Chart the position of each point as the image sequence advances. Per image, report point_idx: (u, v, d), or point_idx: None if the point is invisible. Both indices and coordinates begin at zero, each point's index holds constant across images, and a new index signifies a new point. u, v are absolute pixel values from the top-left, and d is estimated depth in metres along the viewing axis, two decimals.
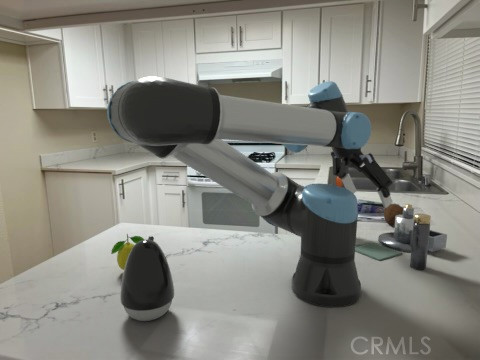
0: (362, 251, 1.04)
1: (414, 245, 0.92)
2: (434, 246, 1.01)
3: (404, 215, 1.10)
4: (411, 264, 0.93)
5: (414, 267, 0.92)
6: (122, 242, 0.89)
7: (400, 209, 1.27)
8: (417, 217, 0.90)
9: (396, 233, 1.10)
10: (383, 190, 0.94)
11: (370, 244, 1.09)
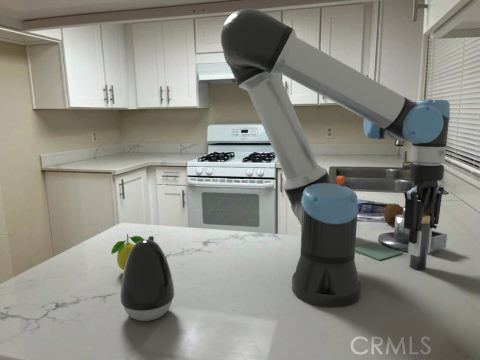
0: (362, 251, 1.04)
1: None
2: (434, 246, 1.01)
3: None
4: (411, 264, 0.93)
5: (414, 267, 0.92)
6: (122, 242, 0.89)
7: (400, 209, 1.27)
8: None
9: (396, 233, 1.10)
10: None
11: (370, 244, 1.09)
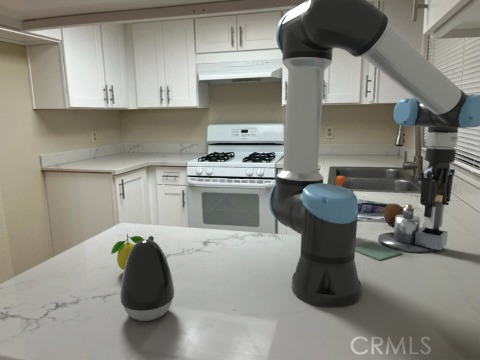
0: (362, 251, 1.04)
1: None
2: (442, 244, 1.02)
3: (405, 215, 1.09)
4: None
5: None
6: (122, 242, 0.89)
7: (400, 209, 1.27)
8: None
9: (399, 234, 1.09)
10: None
11: (370, 244, 1.09)
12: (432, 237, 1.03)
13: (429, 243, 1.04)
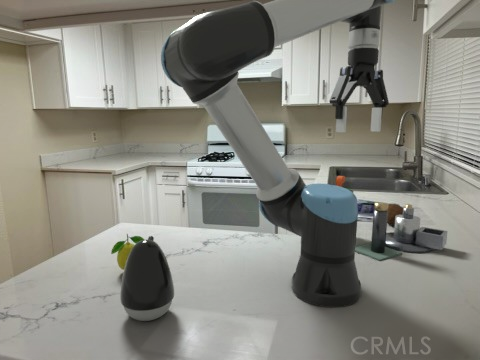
0: (362, 251, 1.04)
1: (374, 230, 1.02)
2: (442, 244, 1.03)
3: (406, 215, 1.09)
4: (372, 248, 1.04)
5: (374, 250, 1.03)
6: (122, 242, 0.89)
7: (400, 209, 1.27)
8: (376, 205, 1.01)
9: (399, 234, 1.09)
10: None
11: (370, 244, 1.09)
12: (433, 237, 1.03)
13: (430, 243, 1.04)
